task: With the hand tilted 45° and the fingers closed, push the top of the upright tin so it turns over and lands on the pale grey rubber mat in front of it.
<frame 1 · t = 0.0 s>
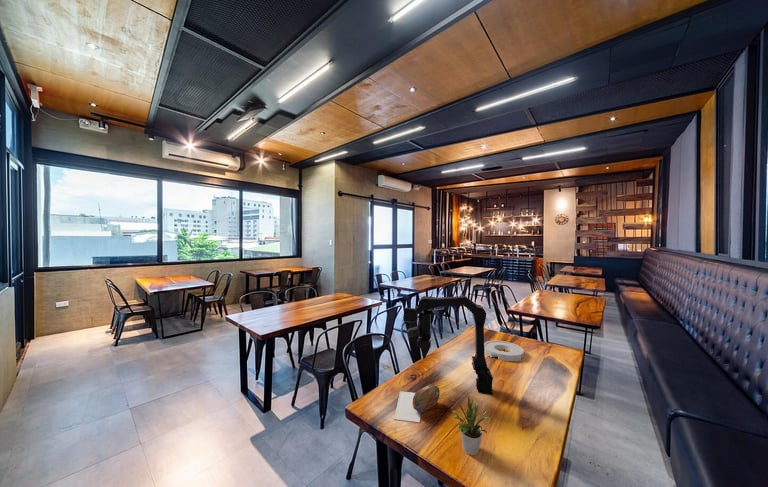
hand: (424, 354, 136), 15 cm above the table, tool pointing down, fingers open, 9 cm apart
mat: (409, 406, 119), on the table
house plant: (468, 446, 97), on the table
tin: (425, 407, 118), on the table, touching mat
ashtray: (503, 354, 174), on the table
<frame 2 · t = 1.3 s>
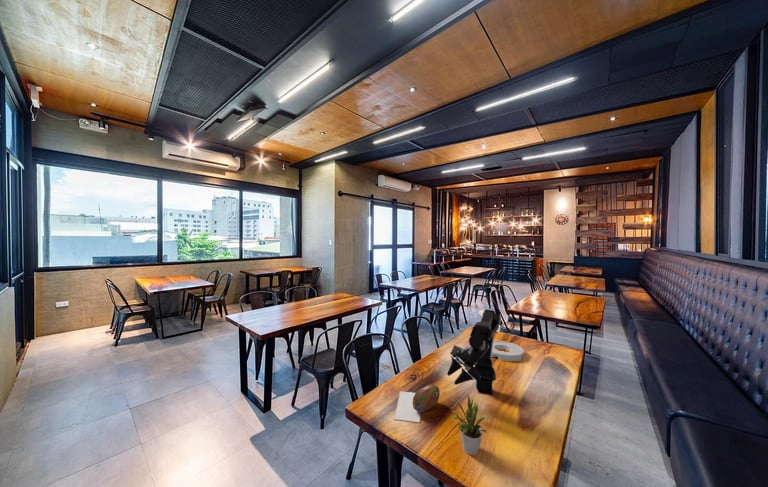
hand: (451, 379, 119), 11 cm above the table, tool tilted 45°, fingers open, 7 cm apart
nothing on the table moved.
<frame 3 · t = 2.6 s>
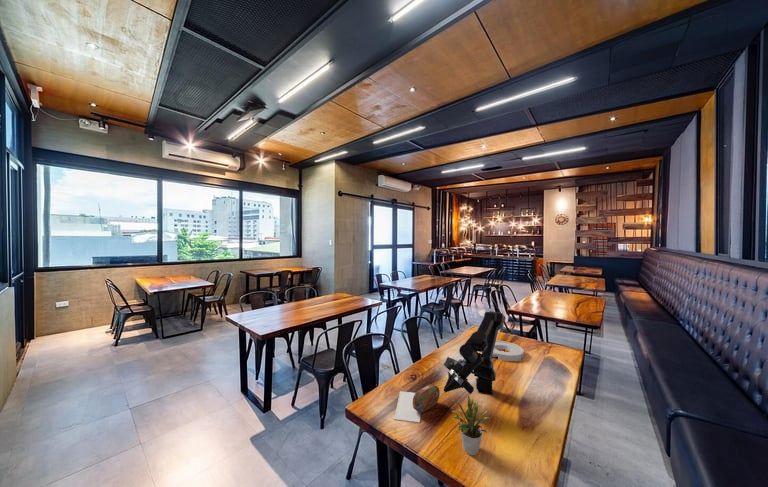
hand: (444, 391, 118), 7 cm above the table, tool tilted 45°, fingers closed
nothing on the table moved.
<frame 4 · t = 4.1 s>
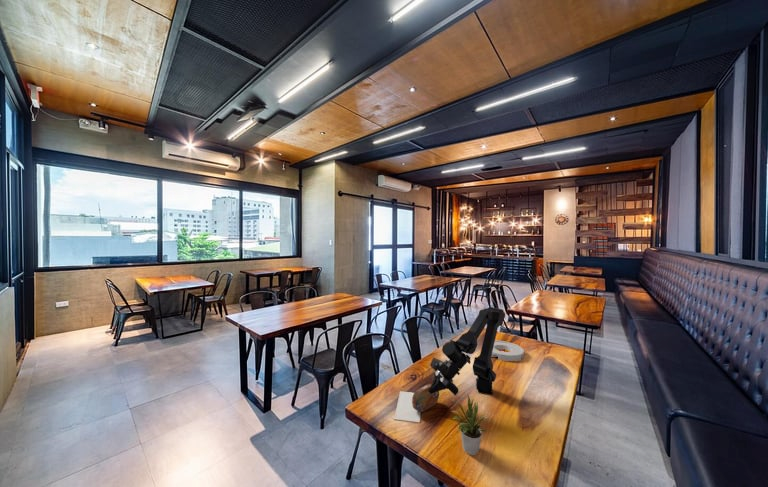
hand: (429, 392, 117), 7 cm above the table, tool tilted 45°, fingers closed
nothing on the table moved.
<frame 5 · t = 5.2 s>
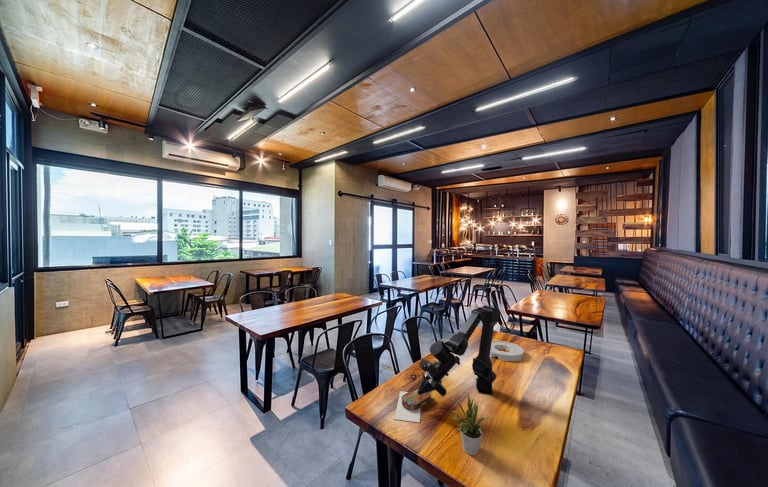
hand: (418, 393, 116), 7 cm above the table, tool tilted 45°, fingers closed
tin: (424, 403, 118), point 1 cm above the table, touching mat
everything else where it was.
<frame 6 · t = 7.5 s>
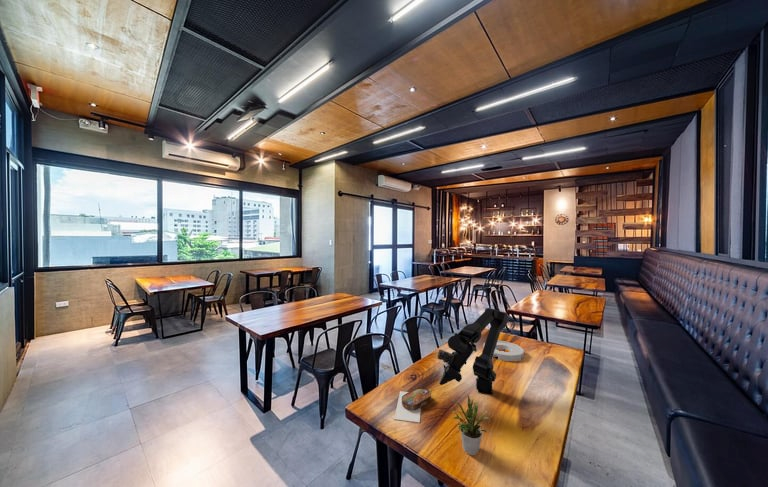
hand: (440, 384, 120), 9 cm above the table, tool tilted 35°, fingers closed
nothing on the table moved.
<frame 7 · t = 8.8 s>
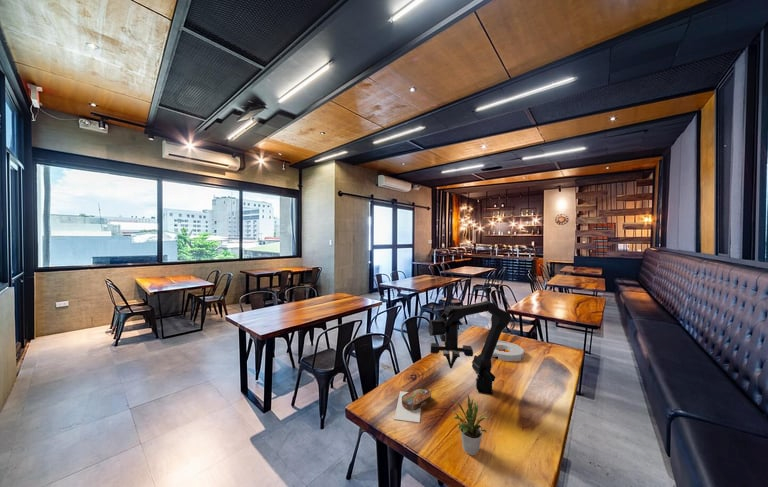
hand: (450, 367, 128), 12 cm above the table, tool pointing down, fingers closed
nothing on the table moved.
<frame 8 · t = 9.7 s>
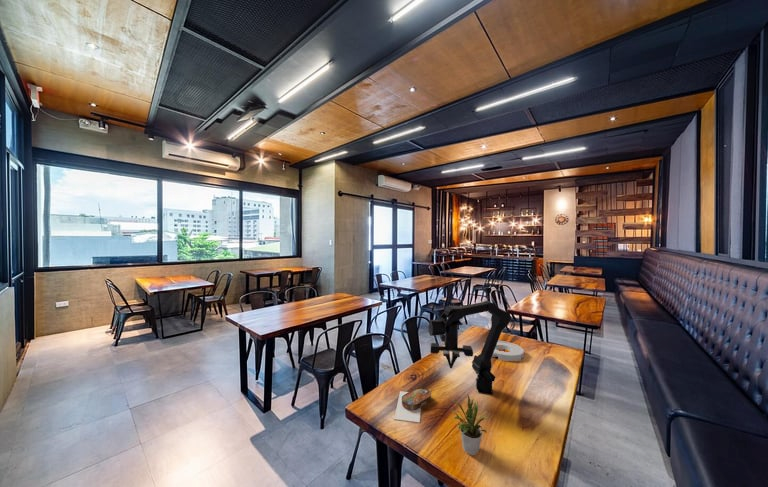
hand: (450, 367, 128), 12 cm above the table, tool pointing down, fingers closed
nothing on the table moved.
at the end: tin tilted 86°; tin inside the target area (6.4 cm from its centre), point 1.3 cm above the table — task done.
